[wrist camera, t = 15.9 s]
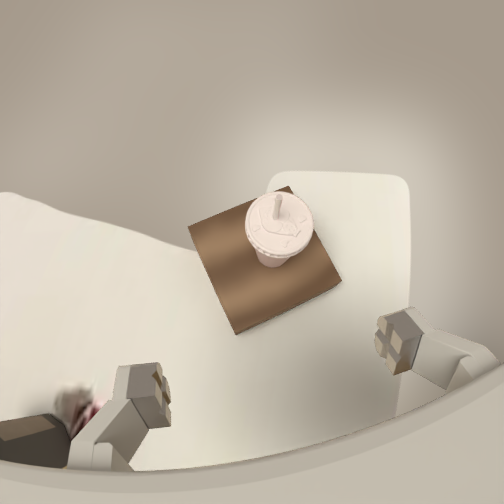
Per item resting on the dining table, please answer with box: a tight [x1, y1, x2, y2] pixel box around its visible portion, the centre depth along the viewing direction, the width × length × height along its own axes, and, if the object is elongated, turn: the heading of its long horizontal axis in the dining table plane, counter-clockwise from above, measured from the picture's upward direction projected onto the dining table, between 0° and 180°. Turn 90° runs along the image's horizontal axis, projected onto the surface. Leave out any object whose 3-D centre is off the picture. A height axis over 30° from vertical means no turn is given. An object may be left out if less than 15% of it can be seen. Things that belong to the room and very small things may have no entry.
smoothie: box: [245, 191, 314, 268], centre depth 32 cm, size 6×6×14 cm
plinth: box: [188, 186, 342, 335], centre depth 41 cm, size 14×14×4 cm
